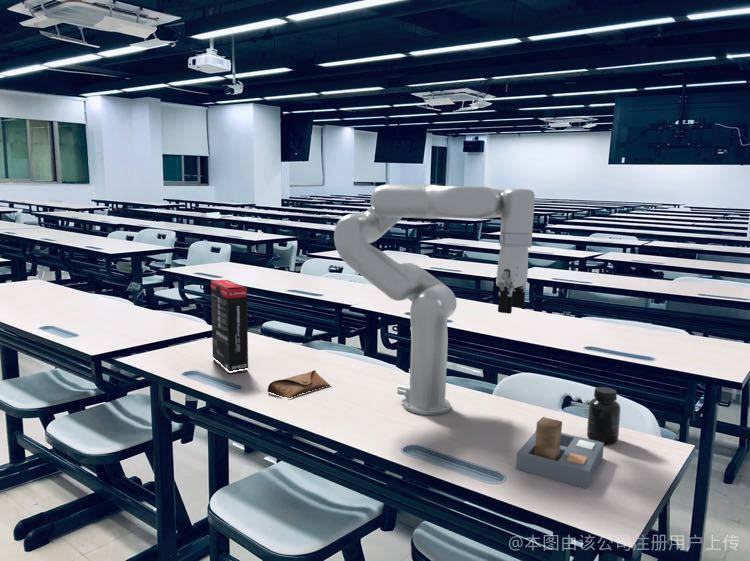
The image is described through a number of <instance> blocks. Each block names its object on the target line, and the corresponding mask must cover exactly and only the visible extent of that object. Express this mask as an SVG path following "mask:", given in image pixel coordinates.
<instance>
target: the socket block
mask: <svg viewBox="0 0 750 561" xmlns="http://www.w3.org/2000/svg"><path fill="white" fill-rule="evenodd" d="M535 441H536V431H534V433H533V434H532V435H531V436H530V437H529V438H528V440H527V441H526V442H525V443H524V444H523V445H522V446H521V447H520V449H519V450H518V451H517V452H516V460H515V461H516V463H515V470H518V471H519V470H520V471H523V472H526V473H530V474H534V475H537V476H541V477H544V478H548V479H551V480H553V481H554V480H555V481H557V482H561V483H565V484H568V485H572V486H575V487H580V488H583V489H588V487H589V486H590V484H591V482H592V480H593V478H594V476H595V473H596V472H597V470H598V468H599V466H600V464H601V462H602V460H603V456H604V448H605V447H604V446H605V444H604V443H603V442H599V441H595V440H590V439H589V438H586V437H581V436H577V435H573V434H568V433H564V432H561V444H560V456H559V461H555V460H551V459H547V458H544V457H540V456H536V455H535Z"/></svg>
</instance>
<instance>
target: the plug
mask: <svg viewBox="0 0 750 561" xmlns="http://www.w3.org/2000/svg"><path fill="white" fill-rule="evenodd" d="M535 428H536V430H535V432H536V441H535V455H536V456H540V457H544V458H547V459H551V460H555V461H559V456H560V444H561V433H562V430H563V429H562V428H563V421H562V420H558V419H555V418H554V419H553V418H549V417H546V416H542V417H540V419H539V420H537V422H536V427H535Z"/></svg>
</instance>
